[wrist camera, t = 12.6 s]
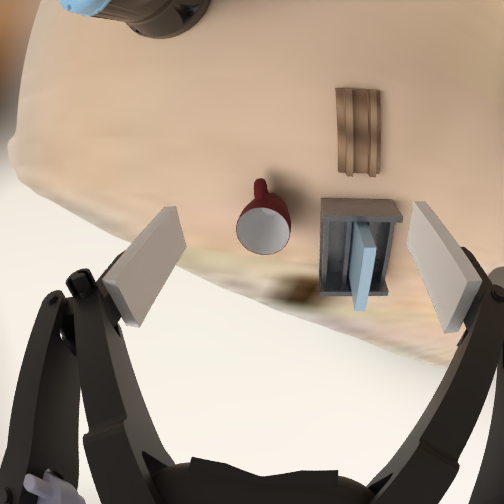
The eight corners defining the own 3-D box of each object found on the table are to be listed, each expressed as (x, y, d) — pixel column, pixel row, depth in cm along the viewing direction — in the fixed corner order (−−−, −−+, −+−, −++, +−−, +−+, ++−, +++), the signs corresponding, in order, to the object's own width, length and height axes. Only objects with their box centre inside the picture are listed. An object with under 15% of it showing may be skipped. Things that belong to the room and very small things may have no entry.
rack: (320, 198, 47) (322, 215, 41) (391, 199, 45) (403, 216, 39) (319, 272, 56) (319, 296, 50) (380, 273, 53) (387, 295, 47)
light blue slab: (352, 211, 46) (364, 247, 36) (362, 211, 46) (376, 247, 36) (347, 267, 53) (354, 311, 43) (356, 267, 52) (365, 310, 42)
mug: (236, 178, 48) (221, 199, 40) (280, 165, 45) (275, 184, 37) (256, 229, 53) (246, 259, 45) (298, 219, 50) (296, 249, 42)
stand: (335, 88, 37) (337, 87, 34) (378, 90, 35) (383, 90, 33) (338, 170, 44) (340, 176, 42) (377, 172, 43) (382, 177, 40)
